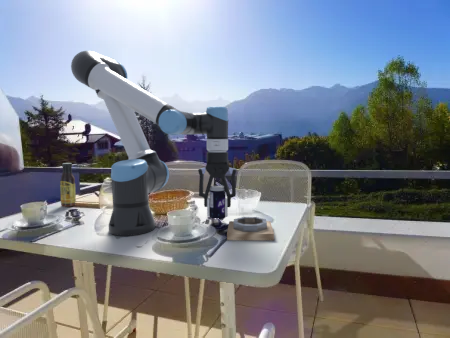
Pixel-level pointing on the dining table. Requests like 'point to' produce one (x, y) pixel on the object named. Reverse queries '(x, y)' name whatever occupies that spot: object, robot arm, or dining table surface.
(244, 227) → the collar
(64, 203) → the sauce bottle
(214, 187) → the beverage can
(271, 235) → the oak board
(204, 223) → the dining table surface
